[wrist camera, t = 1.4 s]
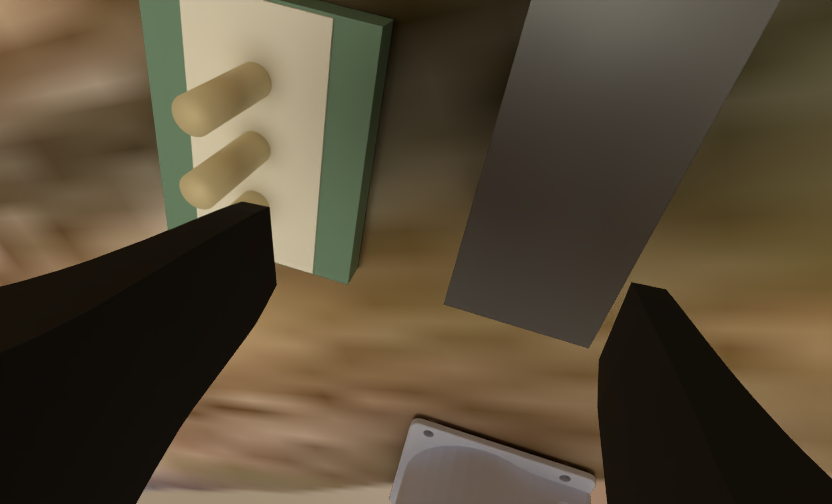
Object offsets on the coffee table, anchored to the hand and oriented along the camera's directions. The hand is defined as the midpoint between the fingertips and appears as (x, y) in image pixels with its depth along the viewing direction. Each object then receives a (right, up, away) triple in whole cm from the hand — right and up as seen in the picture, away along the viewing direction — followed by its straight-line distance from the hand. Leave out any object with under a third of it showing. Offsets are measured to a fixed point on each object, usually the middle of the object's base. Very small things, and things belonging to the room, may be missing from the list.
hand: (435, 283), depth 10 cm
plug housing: (+5, +7, +5) cm, 10 cm away
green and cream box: (-6, +5, +9) cm, 12 cm away
